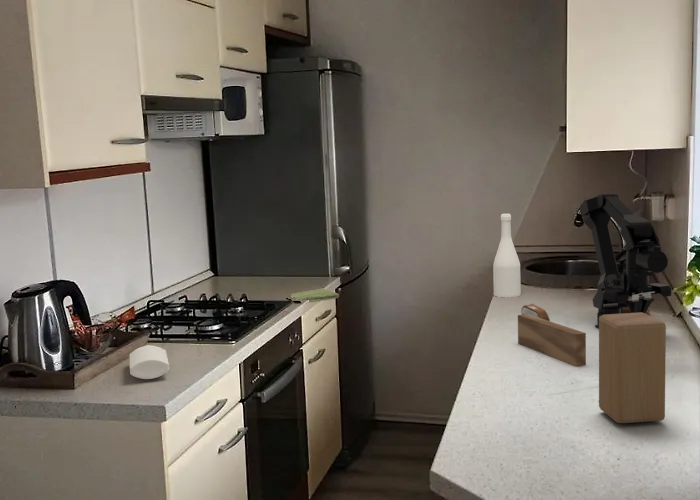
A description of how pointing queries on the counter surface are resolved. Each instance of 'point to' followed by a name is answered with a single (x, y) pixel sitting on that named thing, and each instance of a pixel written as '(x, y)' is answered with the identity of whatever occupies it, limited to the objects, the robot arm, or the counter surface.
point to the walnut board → (552, 339)
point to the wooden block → (632, 367)
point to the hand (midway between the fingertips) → (637, 323)
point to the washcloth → (315, 295)
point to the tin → (535, 311)
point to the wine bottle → (506, 264)
